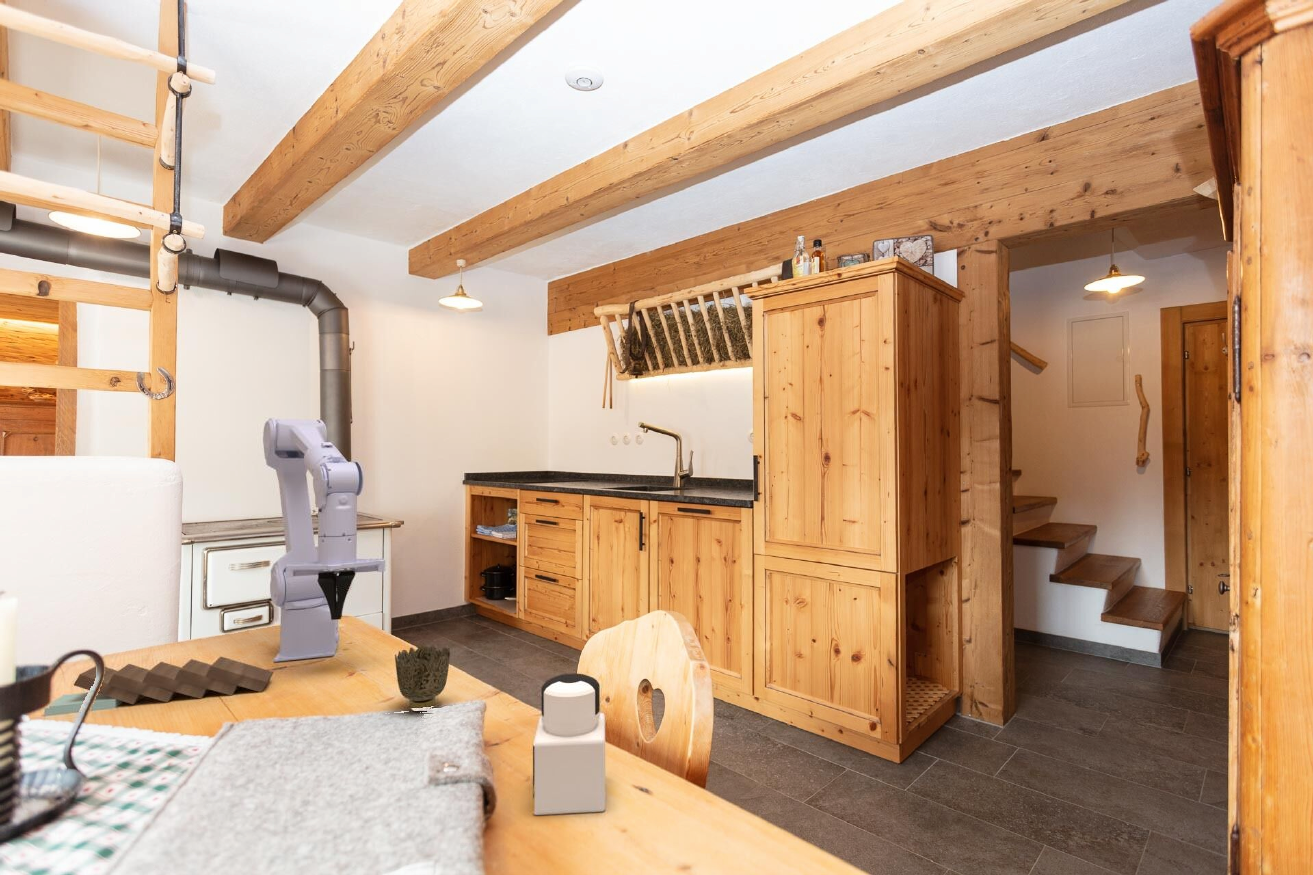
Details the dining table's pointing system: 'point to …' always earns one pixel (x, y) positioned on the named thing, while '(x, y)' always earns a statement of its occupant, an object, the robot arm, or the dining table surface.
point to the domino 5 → (203, 678)
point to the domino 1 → (79, 704)
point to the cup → (422, 674)
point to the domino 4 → (172, 680)
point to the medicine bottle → (569, 747)
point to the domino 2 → (106, 686)
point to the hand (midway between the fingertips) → (336, 618)
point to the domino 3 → (139, 683)
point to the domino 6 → (239, 674)
